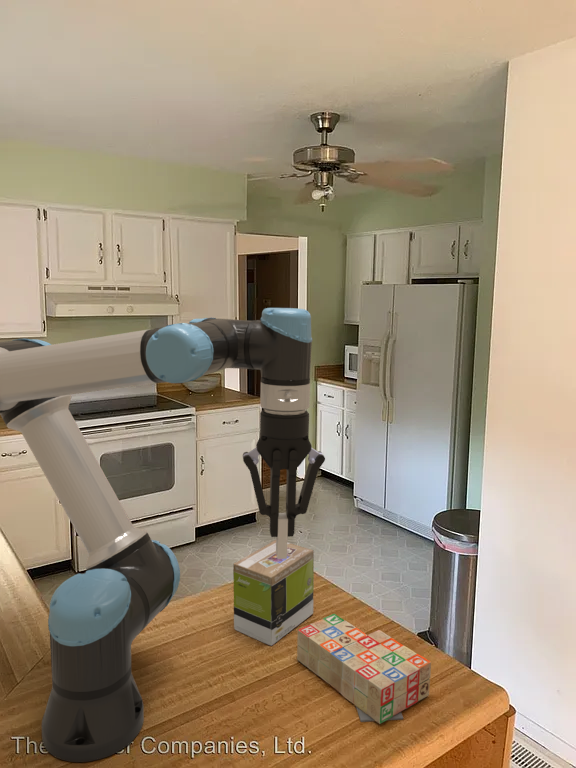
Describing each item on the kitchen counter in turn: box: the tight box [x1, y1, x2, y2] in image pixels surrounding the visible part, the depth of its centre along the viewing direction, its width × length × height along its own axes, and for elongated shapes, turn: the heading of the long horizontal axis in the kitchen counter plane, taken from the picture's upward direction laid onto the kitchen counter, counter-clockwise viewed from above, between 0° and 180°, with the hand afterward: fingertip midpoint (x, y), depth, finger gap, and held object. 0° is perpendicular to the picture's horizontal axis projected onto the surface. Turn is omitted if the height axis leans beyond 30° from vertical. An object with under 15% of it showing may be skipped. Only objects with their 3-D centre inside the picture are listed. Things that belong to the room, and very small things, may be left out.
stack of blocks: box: [296, 613, 432, 725], centre depth 107 cm, size 21×6×12 cm
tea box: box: [232, 539, 315, 647], centre depth 123 cm, size 15×10×15 cm, turn 144°
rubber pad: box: [354, 705, 404, 723], centre depth 102 cm, size 7×12×1 cm, turn 7°
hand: (281, 554), depth 96 cm, fingers closed
